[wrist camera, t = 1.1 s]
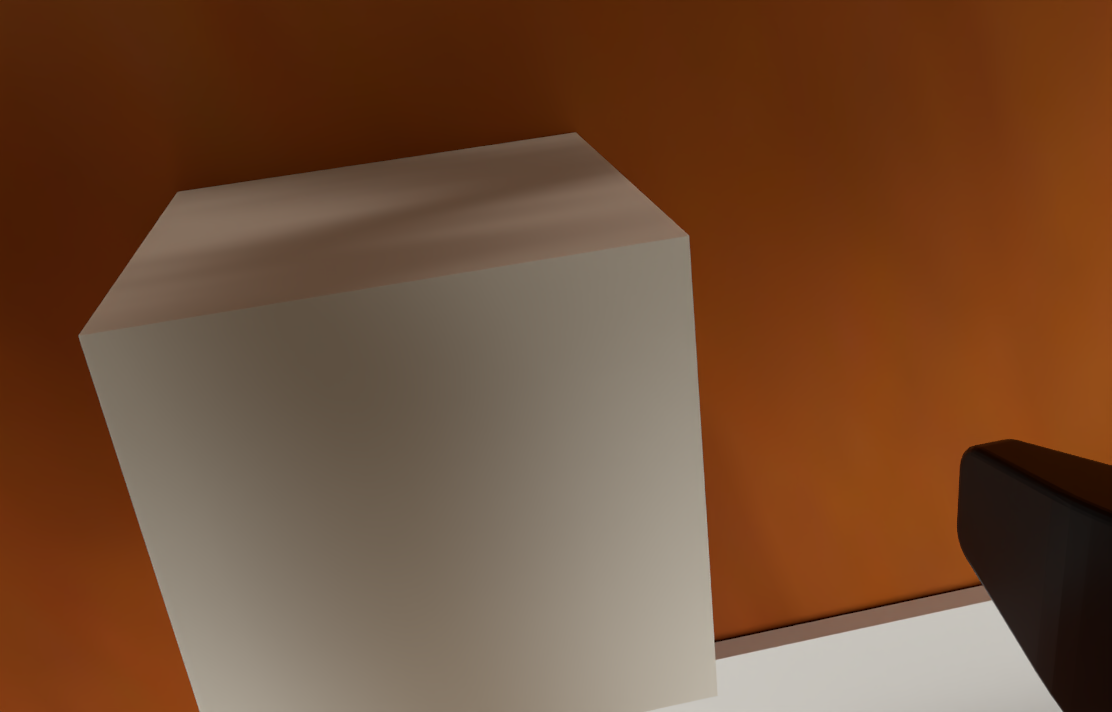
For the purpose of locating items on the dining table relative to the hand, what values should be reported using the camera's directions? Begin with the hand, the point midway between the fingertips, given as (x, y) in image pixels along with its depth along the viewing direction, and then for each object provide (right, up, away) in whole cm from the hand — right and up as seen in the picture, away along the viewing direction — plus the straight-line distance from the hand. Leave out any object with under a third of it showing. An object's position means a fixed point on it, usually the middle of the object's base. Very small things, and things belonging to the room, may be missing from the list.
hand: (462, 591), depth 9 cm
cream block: (-1, +2, +5) cm, 6 cm away
